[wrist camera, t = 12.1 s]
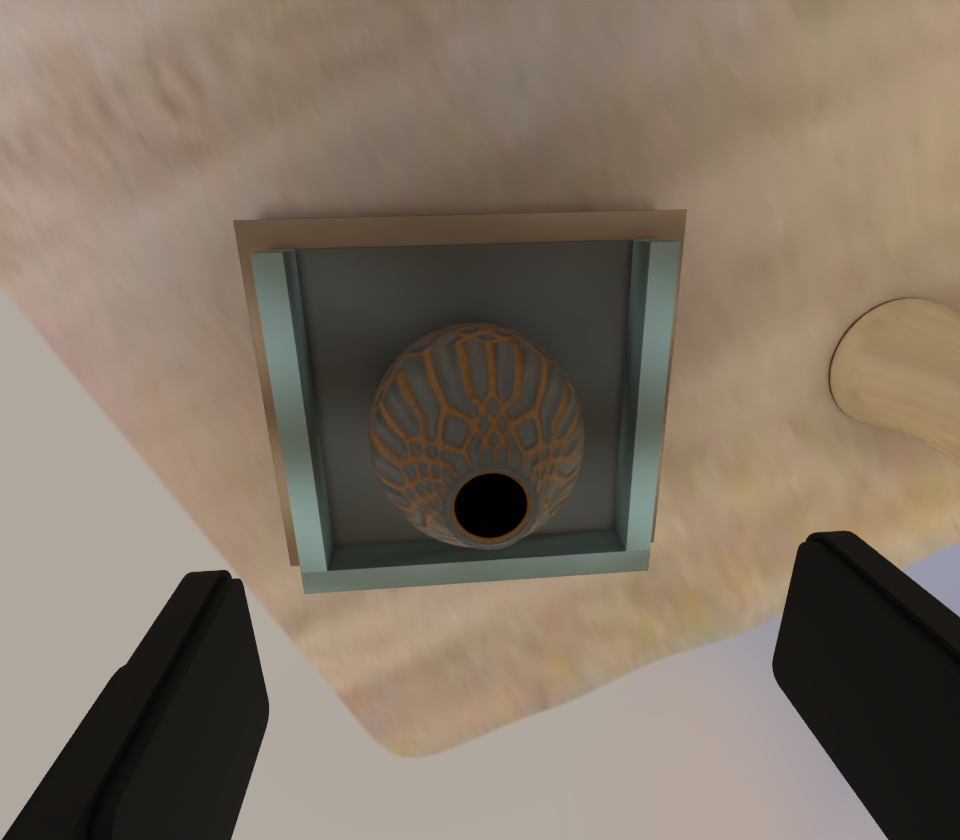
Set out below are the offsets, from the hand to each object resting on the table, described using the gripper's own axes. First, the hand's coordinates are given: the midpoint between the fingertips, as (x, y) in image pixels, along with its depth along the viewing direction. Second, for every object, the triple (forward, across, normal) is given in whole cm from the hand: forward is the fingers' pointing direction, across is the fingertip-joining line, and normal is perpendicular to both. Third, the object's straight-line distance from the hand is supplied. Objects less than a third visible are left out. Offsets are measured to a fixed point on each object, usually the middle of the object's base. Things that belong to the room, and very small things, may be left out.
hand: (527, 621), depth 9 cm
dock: (+16, 0, +1) cm, 16 cm away
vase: (+13, 0, 0) cm, 13 cm away
